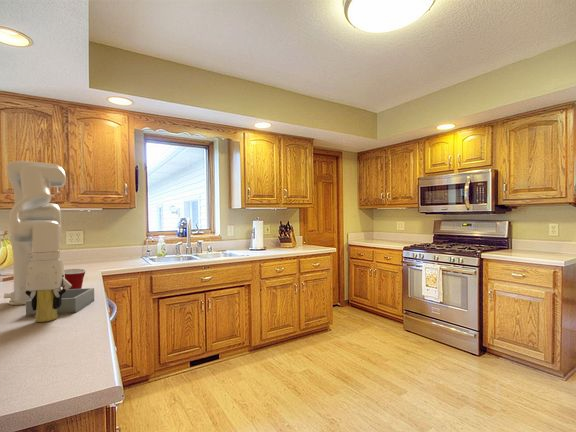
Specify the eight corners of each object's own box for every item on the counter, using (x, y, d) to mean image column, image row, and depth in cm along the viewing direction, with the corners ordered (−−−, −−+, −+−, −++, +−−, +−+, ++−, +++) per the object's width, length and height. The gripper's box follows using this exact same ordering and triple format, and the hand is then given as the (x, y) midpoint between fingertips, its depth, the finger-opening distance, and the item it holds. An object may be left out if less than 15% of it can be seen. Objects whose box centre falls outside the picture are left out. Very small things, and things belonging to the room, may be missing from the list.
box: (25, 316, 113) (25, 301, 113) (51, 303, 131) (51, 290, 131) (75, 313, 117) (75, 298, 117) (94, 300, 134) (94, 287, 135)
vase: (31, 323, 105) (31, 280, 105) (40, 317, 111) (40, 277, 111) (52, 321, 107) (52, 279, 107) (60, 315, 113) (60, 276, 113)
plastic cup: (72, 299, 137) (72, 272, 137) (51, 298, 139) (51, 271, 139) (92, 293, 148) (92, 268, 148) (73, 293, 150) (72, 267, 150)
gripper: (10, 259, 104) (11, 313, 104) (69, 257, 107) (69, 310, 107) (24, 256, 111) (24, 307, 111) (78, 254, 115) (79, 304, 115)
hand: (46, 308), depth 109 cm, fingers closed on vase, 5 cm apart
